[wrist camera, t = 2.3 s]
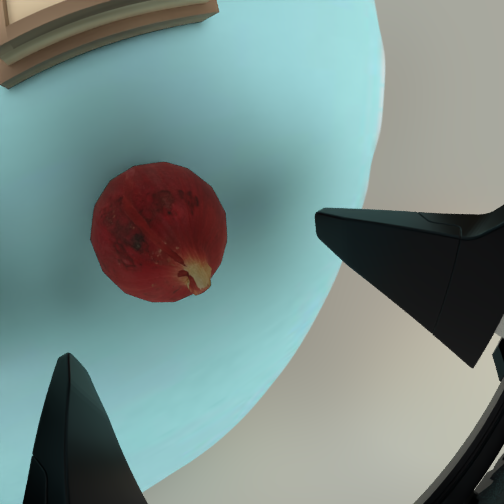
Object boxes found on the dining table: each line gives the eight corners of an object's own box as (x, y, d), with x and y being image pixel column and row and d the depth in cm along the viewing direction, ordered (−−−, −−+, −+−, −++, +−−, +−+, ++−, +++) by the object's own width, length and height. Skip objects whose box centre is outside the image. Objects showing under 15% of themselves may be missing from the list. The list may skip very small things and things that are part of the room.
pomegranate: (66, 229, 13) (74, 323, 7) (126, 131, 13) (180, 144, 7) (153, 272, 17) (215, 363, 11) (207, 189, 17) (301, 241, 11)
